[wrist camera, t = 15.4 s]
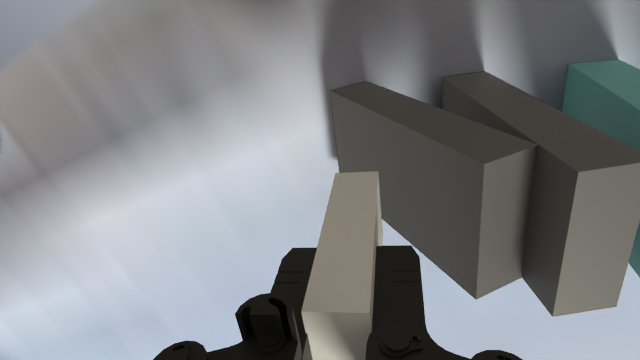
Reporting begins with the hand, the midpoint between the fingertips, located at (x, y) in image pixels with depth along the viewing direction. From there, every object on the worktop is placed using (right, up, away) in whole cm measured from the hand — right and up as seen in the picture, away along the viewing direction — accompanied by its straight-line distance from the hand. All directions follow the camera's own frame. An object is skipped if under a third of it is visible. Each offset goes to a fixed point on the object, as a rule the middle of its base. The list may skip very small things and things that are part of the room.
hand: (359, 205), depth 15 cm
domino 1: (0, +3, +6) cm, 7 cm away
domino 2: (+5, +4, +5) cm, 8 cm away
